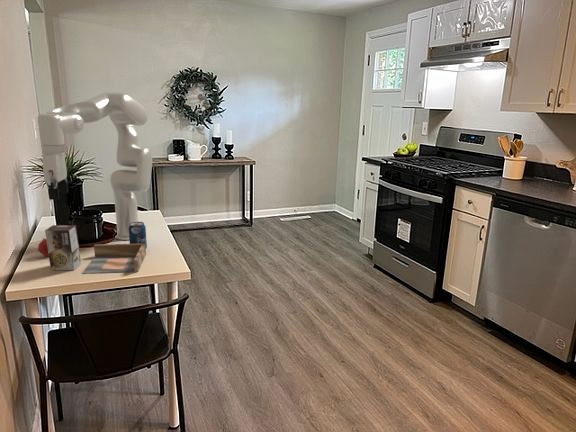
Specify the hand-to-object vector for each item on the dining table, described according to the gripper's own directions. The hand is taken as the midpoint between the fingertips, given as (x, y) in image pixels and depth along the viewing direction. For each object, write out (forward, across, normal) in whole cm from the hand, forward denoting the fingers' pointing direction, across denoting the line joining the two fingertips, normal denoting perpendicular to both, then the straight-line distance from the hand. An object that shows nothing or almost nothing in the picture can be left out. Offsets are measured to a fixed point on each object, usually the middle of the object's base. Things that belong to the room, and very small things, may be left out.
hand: (59, 196), depth 155 cm
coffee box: (+29, 0, -1) cm, 29 cm away
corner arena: (+28, -2, +17) cm, 33 cm away
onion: (+28, -13, -12) cm, 33 cm away
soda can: (+29, -17, +23) cm, 41 cm away
